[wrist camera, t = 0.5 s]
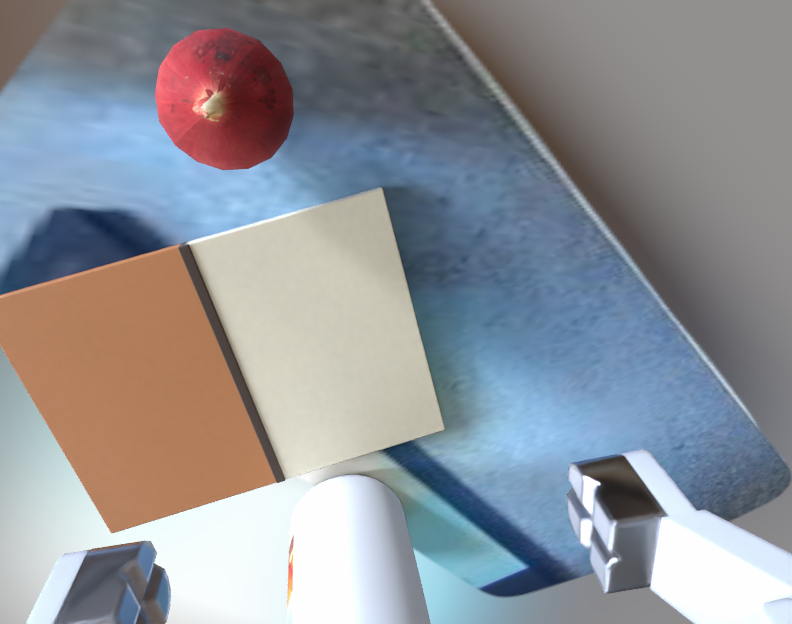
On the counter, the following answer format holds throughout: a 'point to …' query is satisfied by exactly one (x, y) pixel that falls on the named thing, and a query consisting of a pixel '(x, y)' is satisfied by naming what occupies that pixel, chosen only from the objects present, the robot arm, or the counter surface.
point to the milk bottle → (352, 557)
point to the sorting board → (227, 359)
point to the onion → (224, 99)
